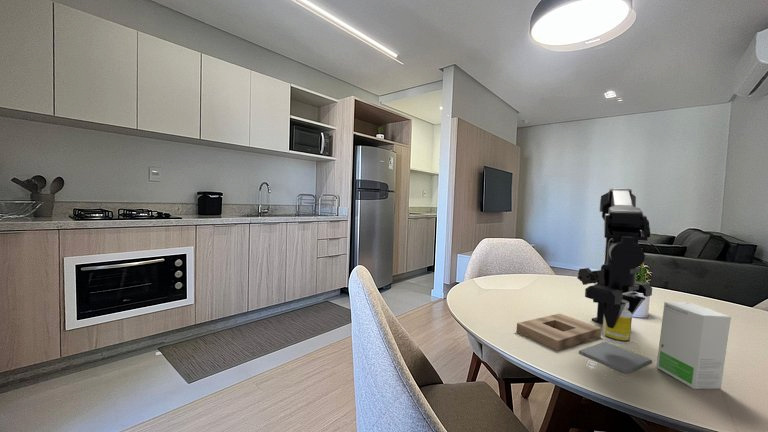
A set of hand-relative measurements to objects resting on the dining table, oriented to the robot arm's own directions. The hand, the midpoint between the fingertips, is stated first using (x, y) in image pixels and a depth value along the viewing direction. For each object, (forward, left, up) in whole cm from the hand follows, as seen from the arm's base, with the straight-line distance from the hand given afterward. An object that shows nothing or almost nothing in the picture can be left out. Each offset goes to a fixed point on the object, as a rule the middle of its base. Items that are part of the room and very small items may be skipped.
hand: (616, 325), depth 73 cm
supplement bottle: (0, 0, -4) cm, 4 cm away
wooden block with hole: (0, -14, -8) cm, 16 cm away
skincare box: (-5, +12, -8) cm, 15 cm away
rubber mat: (0, 0, -8) cm, 8 cm away
